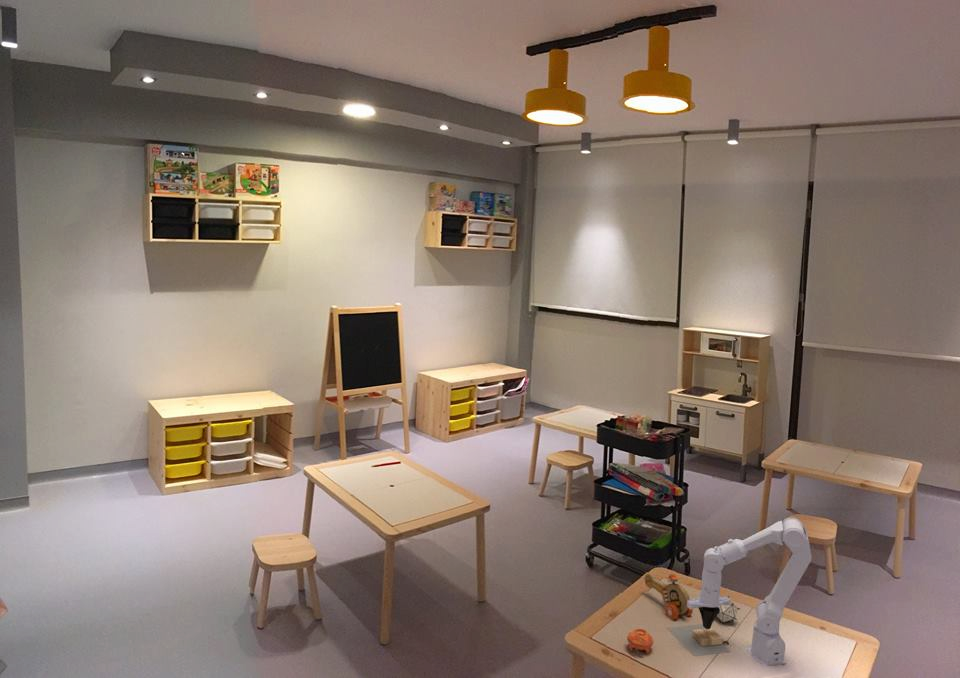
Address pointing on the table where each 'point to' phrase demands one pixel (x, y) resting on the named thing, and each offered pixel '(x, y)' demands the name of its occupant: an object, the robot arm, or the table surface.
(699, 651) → the rubber mat
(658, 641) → the table surface
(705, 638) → the oak tile
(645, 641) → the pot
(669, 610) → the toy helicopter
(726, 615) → the game die
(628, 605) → the table surface
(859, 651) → the table surface
